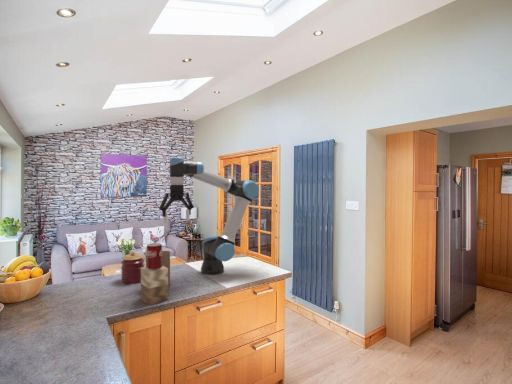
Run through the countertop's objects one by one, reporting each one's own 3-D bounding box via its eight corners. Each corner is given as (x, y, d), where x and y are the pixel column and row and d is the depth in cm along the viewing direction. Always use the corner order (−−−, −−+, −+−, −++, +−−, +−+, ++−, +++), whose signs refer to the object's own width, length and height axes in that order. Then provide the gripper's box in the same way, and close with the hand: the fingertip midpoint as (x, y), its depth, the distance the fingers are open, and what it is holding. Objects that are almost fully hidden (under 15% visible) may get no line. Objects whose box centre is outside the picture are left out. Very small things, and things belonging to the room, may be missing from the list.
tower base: (160, 294, 160) (160, 279, 159) (168, 299, 152) (168, 284, 152) (141, 298, 153) (141, 283, 153) (148, 304, 146) (148, 288, 145)
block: (162, 291, 163) (161, 254, 163) (145, 290, 165) (145, 253, 165) (170, 285, 173) (170, 250, 173) (155, 283, 175) (154, 249, 175)
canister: (145, 276, 189) (144, 248, 188) (144, 283, 177) (144, 253, 176) (122, 278, 185) (122, 249, 184) (120, 285, 173) (119, 254, 172)
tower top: (159, 279, 159) (159, 264, 159) (168, 284, 152) (167, 268, 152) (140, 283, 153) (140, 267, 153) (148, 288, 145) (148, 272, 145)
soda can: (158, 265, 157) (157, 242, 157) (164, 268, 152) (164, 244, 152) (144, 268, 152) (144, 244, 152) (150, 271, 147) (150, 246, 147)
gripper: (193, 184, 182) (193, 219, 183) (152, 184, 166) (153, 222, 167) (199, 184, 177) (199, 220, 177) (158, 184, 161) (158, 224, 161)
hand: (177, 221), depth 172 cm, fingers open, 13 cm apart
